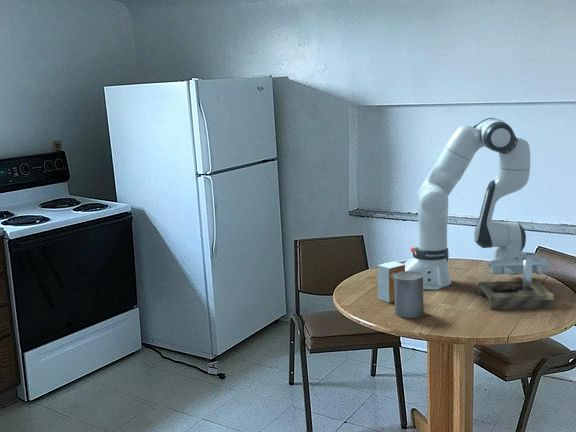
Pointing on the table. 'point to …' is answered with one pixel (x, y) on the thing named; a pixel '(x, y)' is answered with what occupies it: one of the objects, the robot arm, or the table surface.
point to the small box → (388, 280)
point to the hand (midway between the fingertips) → (525, 272)
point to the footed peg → (527, 274)
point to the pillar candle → (408, 294)
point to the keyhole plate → (516, 295)
